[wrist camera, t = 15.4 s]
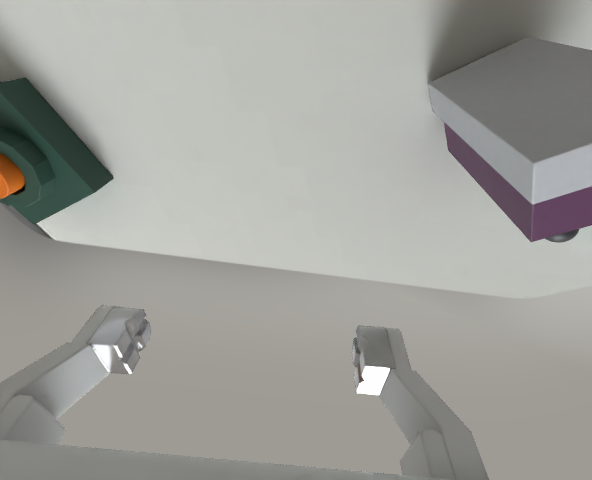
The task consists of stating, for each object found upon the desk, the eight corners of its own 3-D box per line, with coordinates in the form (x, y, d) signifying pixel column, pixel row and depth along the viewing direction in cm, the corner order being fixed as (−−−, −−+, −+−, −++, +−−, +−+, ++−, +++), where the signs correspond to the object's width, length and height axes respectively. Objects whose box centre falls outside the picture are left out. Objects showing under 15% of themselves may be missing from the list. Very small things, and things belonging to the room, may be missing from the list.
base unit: (-35, 123, 27) (-96, 140, 23) (25, 77, 25) (-31, 87, 21) (55, 209, 33) (19, 234, 29) (114, 178, 30) (82, 201, 26)
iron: (534, 162, 13) (528, 292, 18) (757, 85, 10) (673, 258, 16) (427, 82, 23) (444, 179, 29) (527, 36, 21) (525, 150, 27)
